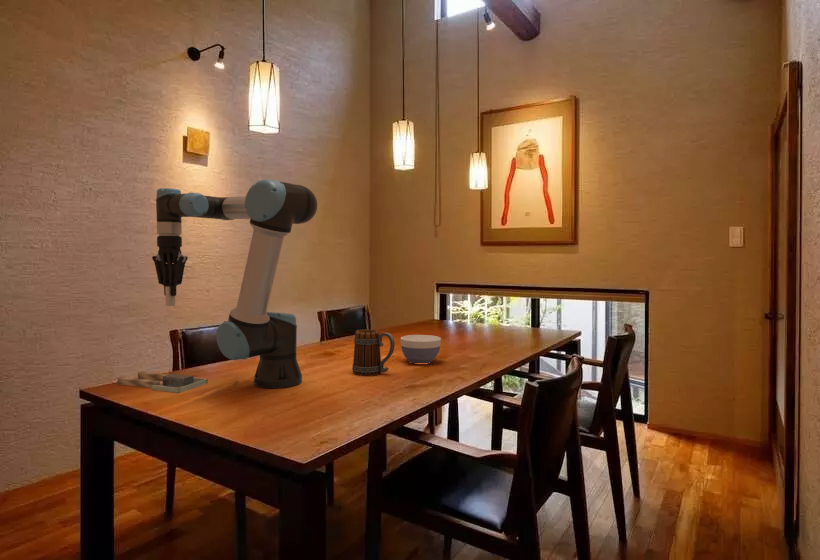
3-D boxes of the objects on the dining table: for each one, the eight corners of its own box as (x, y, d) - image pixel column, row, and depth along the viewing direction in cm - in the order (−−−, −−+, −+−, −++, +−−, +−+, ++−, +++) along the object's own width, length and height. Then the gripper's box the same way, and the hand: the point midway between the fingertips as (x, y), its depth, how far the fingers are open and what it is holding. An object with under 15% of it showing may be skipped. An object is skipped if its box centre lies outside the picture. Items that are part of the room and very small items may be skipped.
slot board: (178, 386, 158) (178, 375, 158) (155, 393, 149) (155, 382, 149) (141, 381, 163) (141, 371, 162) (117, 388, 154) (117, 378, 154)
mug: (346, 374, 175) (346, 332, 174) (360, 368, 185) (361, 328, 184) (387, 378, 169) (387, 335, 168) (399, 372, 179) (399, 330, 178)
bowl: (398, 358, 204) (398, 334, 203) (437, 357, 205) (437, 334, 205) (402, 366, 188) (402, 341, 187) (444, 366, 190) (444, 341, 189)
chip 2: (193, 388, 153) (193, 375, 153) (183, 391, 149) (183, 378, 149) (183, 387, 154) (183, 374, 154) (173, 390, 150) (173, 377, 150)
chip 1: (183, 387, 154) (183, 374, 154) (173, 390, 150) (172, 377, 150) (173, 386, 155) (172, 373, 155) (162, 389, 152) (162, 376, 151)
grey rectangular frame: (207, 387, 156) (207, 378, 156) (178, 397, 145) (178, 388, 144) (182, 384, 159) (182, 376, 159) (151, 394, 148) (151, 385, 148)
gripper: (193, 235, 168) (194, 305, 170) (162, 236, 173) (163, 303, 174) (176, 234, 161) (177, 307, 162) (145, 235, 165) (146, 305, 167)
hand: (170, 305), depth 168 cm, fingers closed
